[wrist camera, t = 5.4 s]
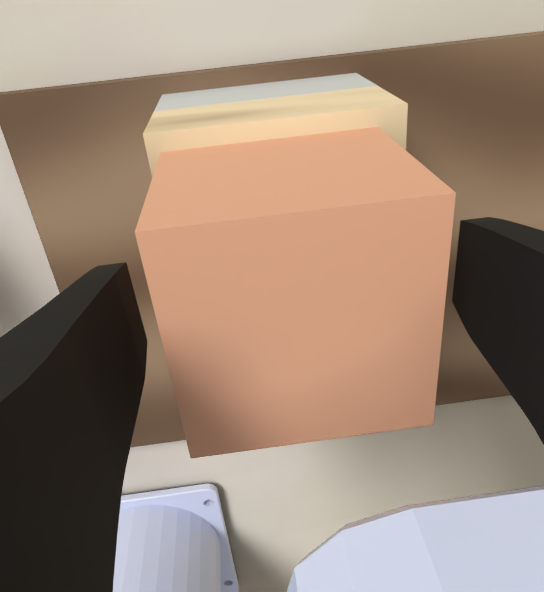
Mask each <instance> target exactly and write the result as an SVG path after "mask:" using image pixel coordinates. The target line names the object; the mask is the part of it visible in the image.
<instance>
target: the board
mask: <svg viewBox="0 0 544 592" xmlns="http://www.w3.org/2000/svg"><path fill="white" fill-rule="evenodd" d="M350 73H357V74H359V75H361V76H362V77H364V78H366V79H367V80H369V81H371V82H372V83H374V84H376V85H378V86H379V87H381V88H382V89H384V90H386V91H387V92H389V93H391V94H393V95H394V96H396V97H398V98H399V99H401V100H403V101H404V102H406V103H408V113H407V136H406V151H407V152H408V153H409V154H411V155H412V156H413V157H414V158H415V159H417V160H418V161H419V162H420V163H421V164H423V165H424V166H425V167H426V168H427V169H428V170H430V171H431V172H432V173H433V174H434V175H436V176H437V177H438V178H439V179H440V180H441V181H443V182H444V183H445V184H446V185H447V186H449V187H450V188H451V189H452V190H453V191H454V192H456V198H455V208H454V218H453V229H452V239H451V249H450V259H449V269H448V280H447V290H446V300H445V310H444V320H443V331H442V341H441V351H440V361H439V371H438V381H437V392H436V402H435V405H441V404H448V403H456V402H463V401H470V400H477V399H485V398H492V397H499V396H506V395H511V394H510V392H509V391H508V390H507V388H506V387H505V385H504V384H503V383H502V381H501V380H500V379H499V377H498V376H497V374H496V373H495V372H494V370H493V369H492V368H491V366H490V365H489V363H488V362H487V361H486V359H485V358H484V356H483V355H482V354H481V352H480V351H479V349H478V348H477V346H476V345H475V344H474V342H473V341H472V339H471V338H470V336H469V335H468V333H467V331H466V329H465V327H464V325H463V323H462V321H461V319H460V317H459V315H458V313H457V311H456V309H455V306H454V304H453V302H452V296H453V287H454V277H455V267H456V258H457V248H458V239H459V229H460V220H468V219H476V218H484V217H492V218H499V219H503V220H508V221H511V222H515V223H519V224H522V225H526V226H529V227H532V228H536V229H539V230H542V231H544V31H542V32H533V33H524V34H515V35H506V36H498V37H489V38H480V39H471V40H462V41H453V42H444V43H435V44H427V45H418V46H409V47H400V48H391V49H382V50H373V51H364V52H356V53H347V54H338V55H329V56H320V57H311V58H302V59H293V60H284V61H276V62H267V63H258V64H249V65H240V66H231V67H222V68H213V69H205V70H196V71H187V72H178V73H169V74H160V75H151V76H142V77H134V78H125V79H116V80H107V81H98V82H89V83H80V84H71V85H63V86H54V87H45V88H36V89H27V90H18V91H9V92H0V126H1V129H2V132H3V134H4V137H5V140H6V143H7V146H8V148H9V151H10V154H11V157H12V160H13V163H14V165H15V168H16V171H17V174H18V177H19V179H20V182H21V185H22V188H23V191H24V194H25V196H26V199H27V202H28V205H29V208H30V210H31V213H32V216H33V219H34V222H35V224H36V227H37V230H38V233H39V236H40V239H41V241H42V244H43V247H44V250H45V253H46V255H47V258H48V261H49V264H50V267H51V270H52V272H53V275H54V278H55V281H56V284H57V286H58V289H59V292H60V293H61V292H62V291H64V290H65V289H66V288H67V287H69V286H70V285H71V284H73V283H74V282H75V281H76V280H78V279H79V278H80V277H82V276H83V275H84V274H86V273H87V272H88V271H90V270H91V269H93V268H95V267H96V266H100V265H108V264H116V263H124V262H126V263H127V266H128V270H129V274H130V277H131V281H132V285H133V289H134V292H135V296H136V300H137V304H138V307H139V311H140V315H141V319H142V322H143V326H144V330H145V333H146V337H147V359H146V373H145V381H144V386H143V391H142V396H141V400H140V405H139V410H138V414H137V419H136V423H135V428H134V432H133V437H132V441H131V445H130V447H136V446H143V445H150V444H158V443H165V442H172V441H180V440H186V437H185V433H184V429H183V425H182V421H181V417H180V413H179V409H178V405H177V401H176V396H175V392H174V388H173V384H172V380H171V376H170V372H169V368H168V364H167V360H166V356H165V352H164V348H163V344H162V340H161V336H160V332H159V328H158V324H157V320H156V316H155V312H154V308H153V304H152V300H151V296H150V292H149V288H148V284H147V280H146V276H145V272H144V268H143V264H142V260H141V256H140V252H139V248H138V244H137V240H136V236H135V229H136V226H137V223H138V220H139V217H140V214H141V211H142V208H143V205H144V202H145V199H146V196H147V193H148V190H149V187H150V183H151V180H152V175H151V170H150V165H149V161H148V156H147V152H146V147H145V142H144V138H143V132H144V130H145V128H146V126H147V124H148V122H149V120H150V118H151V116H152V114H153V112H154V110H155V108H156V106H157V104H158V102H159V100H160V98H161V96H162V95H163V94H172V93H180V92H189V91H198V90H207V89H216V88H225V87H234V86H243V85H252V84H261V83H269V82H278V81H287V80H296V79H305V78H314V77H323V76H332V75H341V74H350Z"/></svg>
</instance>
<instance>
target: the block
mask: <svg viewBox="0 0 544 592" xmlns="http://www.w3.org/2000/svg"><path fill="white" fill-rule="evenodd" d="M455 198H456V192H454V191H453V190H452V189H451V188H450V187H449V186H447V185H446V184H445V183H444V182H443V181H441V180H440V179H439V178H438V177H437V176H436V175H434V174H433V173H432V172H431V171H430V170H428V169H427V168H426V167H425V166H424V165H423V164H421V163H420V162H419V161H418V160H417V159H415V158H414V157H413V156H412V155H411V154H409V153H408V152H407V151H406V150H405V149H404V148H402V147H401V146H400V145H399V144H398V143H396V142H395V141H394V140H393V139H392V138H391V137H389V136H388V135H387V134H386V133H385V132H383V131H382V130H381V129H380V128H379V127H371V128H363V129H354V130H345V131H337V132H328V133H320V134H311V135H303V136H294V137H286V138H277V139H269V140H260V141H251V142H243V143H234V144H226V145H217V146H209V147H200V148H192V149H183V150H174V151H166V152H161V153H160V156H159V159H158V162H157V165H156V168H155V171H154V174H153V177H152V180H151V183H150V187H149V190H148V193H147V196H146V199H145V202H144V205H143V208H142V211H141V214H140V217H139V220H138V223H137V226H136V229H135V236H136V240H137V244H138V248H139V252H140V256H141V260H142V264H143V268H144V272H145V276H146V280H147V284H148V288H149V292H150V296H151V300H152V304H153V308H154V312H155V316H156V320H157V324H158V328H159V332H160V336H161V340H162V344H163V348H164V352H165V356H166V360H167V364H168V368H169V372H170V376H171V380H172V384H173V388H174V392H175V396H176V401H177V405H178V409H179V413H180V417H181V421H182V425H183V429H184V433H185V437H186V441H187V445H188V449H189V453H190V457H191V458H197V457H204V456H212V455H219V454H226V453H233V452H241V451H248V450H255V449H262V448H270V447H277V446H284V445H291V444H298V443H306V442H313V441H320V440H327V439H335V438H342V437H349V436H356V435H364V434H371V433H378V432H385V431H393V430H400V429H407V428H414V427H421V426H429V425H433V422H434V412H435V402H436V392H437V381H438V371H439V361H440V351H441V341H442V331H443V320H444V310H445V300H446V290H447V280H448V269H449V259H450V249H451V239H452V229H453V218H454V208H455Z"/></svg>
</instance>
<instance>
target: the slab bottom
mask: <svg viewBox="0 0 544 592" xmlns="http://www.w3.org/2000/svg"><path fill="white" fill-rule="evenodd" d="M372 86H378V85H376V84H374V83H372V82H371V81H369V80H367V79H366V78H364V77H362V76H361V75H359V74H357V73H350V74H341V75H332V76H323V77H314V78H305V79H296V80H287V81H278V82H269V83H261V84H252V85H243V86H234V87H225V88H216V89H207V90H198V91H189V92H180V93H172V94H163V95H162V96H161V98H160V100H159V102H158V104H157V106H156V108H155V110H154V111H161V110H169V109H178V108H187V107H196V106H205V105H214V104H222V103H231V102H240V101H249V100H258V99H267V98H275V97H284V96H293V95H302V94H311V93H319V92H328V91H337V90H346V89H355V88H364V87H372Z"/></svg>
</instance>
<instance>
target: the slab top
mask: <svg viewBox="0 0 544 592" xmlns="http://www.w3.org/2000/svg"><path fill="white" fill-rule="evenodd" d="M407 113H408V103H406V102H404V101H403V100H401V99H399V98H398V97H396V96H394V95H393V94H391V93H389V92H387V91H386V90H384V89H382V88H381V87H379V86H372V87H364V88H355V89H346V90H337V91H328V92H319V93H311V94H302V95H293V96H284V97H275V98H267V99H258V100H249V101H240V102H231V103H222V104H214V105H205V106H196V107H187V108H178V109H169V110H161V111H154V112H153V114H152V116H151V118H150V120H149V122H148V124H147V126H146V128H145V130H144V132H143V138H144V142H145V147H146V152H147V156H148V161H149V165H150V170H151V175H152V177H153V174H154V171H155V168H156V165H157V162H158V159H159V156H160V153H161V152H166V151H174V150H183V149H192V148H200V147H209V146H217V145H226V144H234V143H243V142H251V141H260V140H269V139H277V138H286V137H294V136H303V135H311V134H320V133H328V132H337V131H345V130H354V129H363V128H371V127H379V128H380V129H381V130H382V131H383V132H385V133H386V134H387V135H388V136H389V137H391V138H392V139H393V140H394V141H395V142H396V143H398V144H399V145H400V146H401V147H402V148H404V149H405V150H406V136H407Z"/></svg>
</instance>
